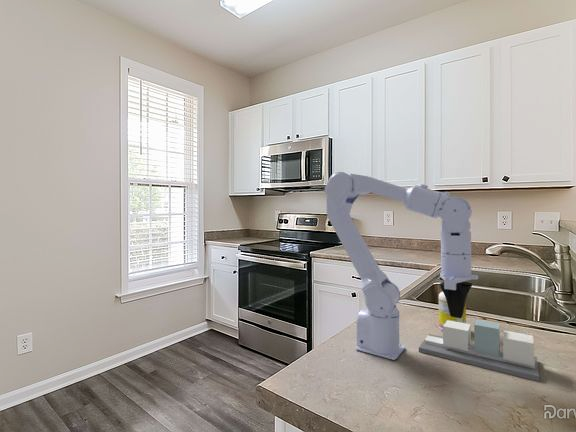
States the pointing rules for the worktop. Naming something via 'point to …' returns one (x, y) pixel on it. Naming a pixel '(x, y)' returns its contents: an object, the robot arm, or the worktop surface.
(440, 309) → the supplement bottle
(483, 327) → the block
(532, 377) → the board
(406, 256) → the worktop surface
